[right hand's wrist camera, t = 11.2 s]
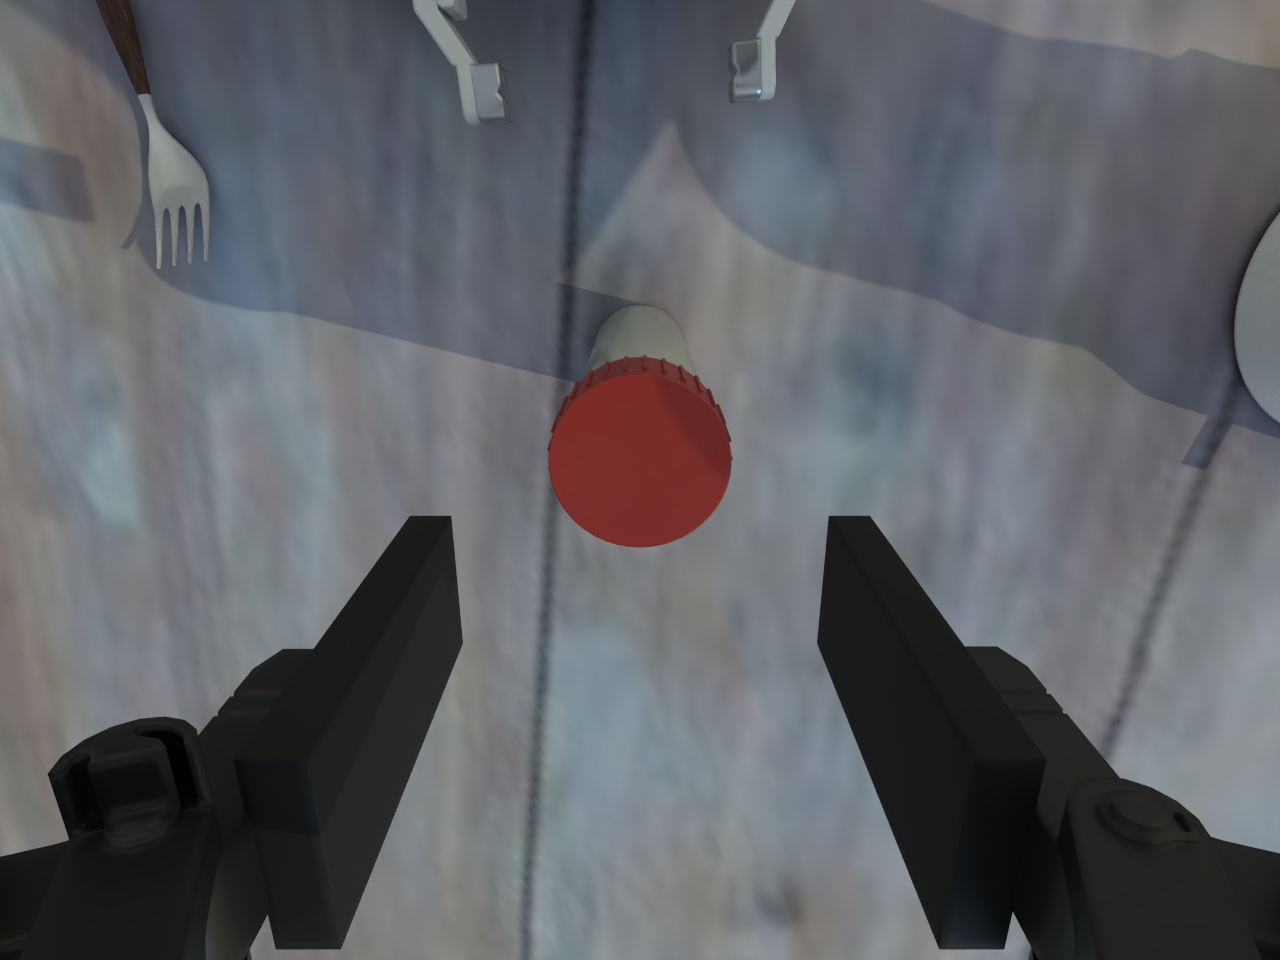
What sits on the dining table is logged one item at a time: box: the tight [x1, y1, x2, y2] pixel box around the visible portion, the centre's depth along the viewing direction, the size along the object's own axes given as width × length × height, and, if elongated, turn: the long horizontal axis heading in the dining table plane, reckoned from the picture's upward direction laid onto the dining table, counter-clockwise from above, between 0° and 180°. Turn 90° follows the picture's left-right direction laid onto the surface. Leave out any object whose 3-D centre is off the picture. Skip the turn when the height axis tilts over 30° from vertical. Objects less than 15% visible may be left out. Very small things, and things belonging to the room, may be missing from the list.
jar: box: [583, 305, 696, 378], centre depth 29 cm, size 4×4×16 cm
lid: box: [548, 355, 732, 547], centre depth 22 cm, size 5×5×2 cm
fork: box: [96, 0, 210, 269], centre depth 31 cm, size 3×16×2 cm, turn 9°
